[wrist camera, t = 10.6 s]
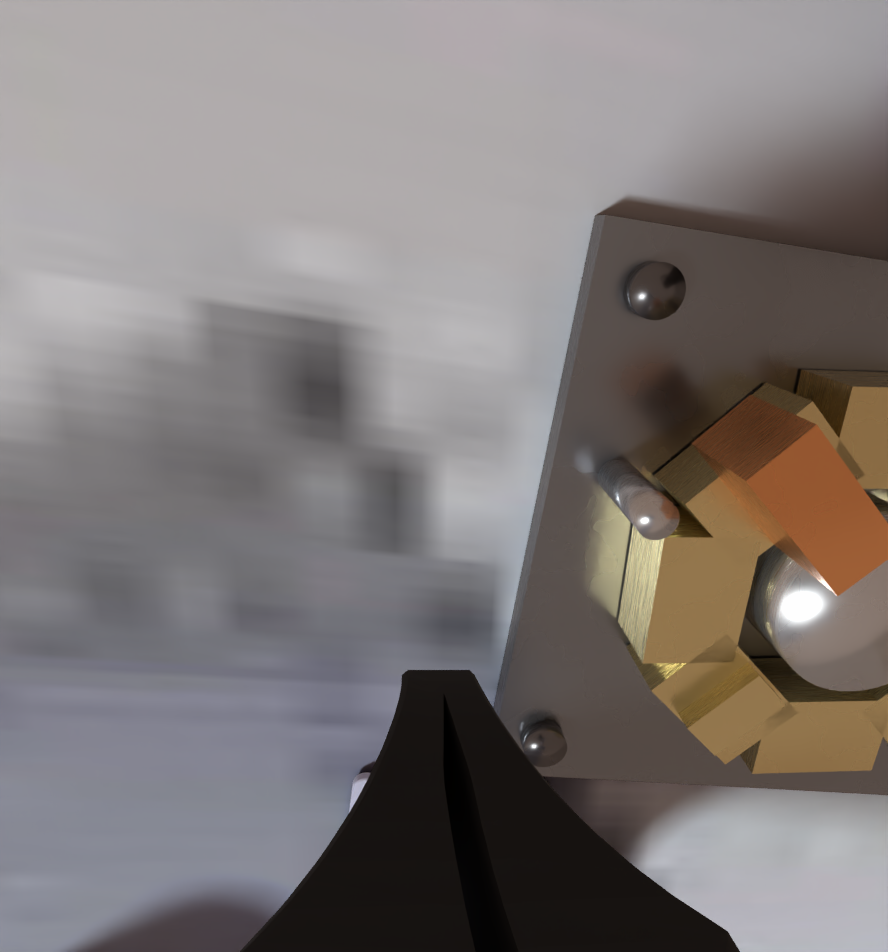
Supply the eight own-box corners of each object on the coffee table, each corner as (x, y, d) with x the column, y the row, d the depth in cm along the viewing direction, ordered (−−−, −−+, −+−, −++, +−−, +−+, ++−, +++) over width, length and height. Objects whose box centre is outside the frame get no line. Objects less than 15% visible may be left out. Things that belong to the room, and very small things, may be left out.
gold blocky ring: (870, 240, 19) (1043, 243, 14) (1069, 566, 24) (1253, 656, 19) (518, 538, 22) (557, 631, 17) (759, 781, 26) (847, 912, 21)
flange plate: (936, 780, 28) (1031, 874, 24) (483, 753, 26) (501, 854, 22) (1173, 310, 22) (1360, 328, 18) (595, 215, 19) (652, 210, 15)
